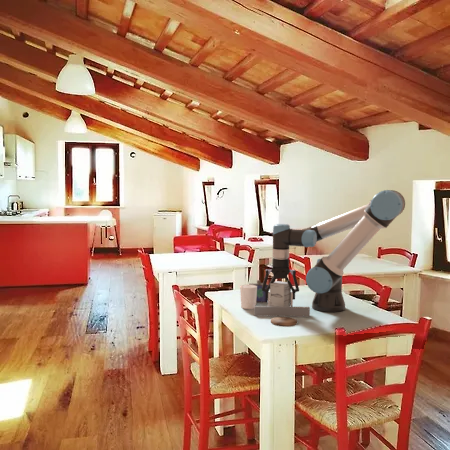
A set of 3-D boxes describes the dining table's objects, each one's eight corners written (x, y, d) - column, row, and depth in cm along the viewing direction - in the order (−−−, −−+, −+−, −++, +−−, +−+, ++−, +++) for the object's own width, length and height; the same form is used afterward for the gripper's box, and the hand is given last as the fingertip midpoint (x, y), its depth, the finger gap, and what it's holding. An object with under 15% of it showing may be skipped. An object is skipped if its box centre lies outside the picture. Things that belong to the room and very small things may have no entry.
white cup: (255, 309, 228) (255, 288, 227) (238, 309, 229) (238, 287, 229) (258, 305, 236) (258, 285, 235) (241, 304, 237) (241, 284, 236)
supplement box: (268, 310, 227) (269, 283, 226) (276, 307, 233) (277, 280, 232) (283, 312, 223) (283, 285, 222) (290, 309, 229) (291, 282, 228)
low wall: (309, 315, 218) (309, 306, 218) (309, 316, 217) (309, 307, 217) (254, 314, 219) (254, 306, 219) (254, 315, 218) (254, 306, 217)
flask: (248, 302, 243) (248, 280, 242) (249, 300, 246) (249, 279, 245) (267, 303, 241) (267, 281, 240) (268, 301, 244) (268, 280, 243)
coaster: (299, 320, 211) (299, 318, 211) (293, 327, 201) (293, 325, 201) (274, 317, 215) (274, 315, 215) (267, 324, 205) (267, 322, 205)
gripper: (304, 257, 229) (303, 304, 231) (255, 256, 230) (255, 304, 232) (306, 259, 222) (305, 308, 224) (256, 259, 223) (255, 308, 225)
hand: (280, 306), depth 228 cm, fingers closed on supplement box, 10 cm apart
